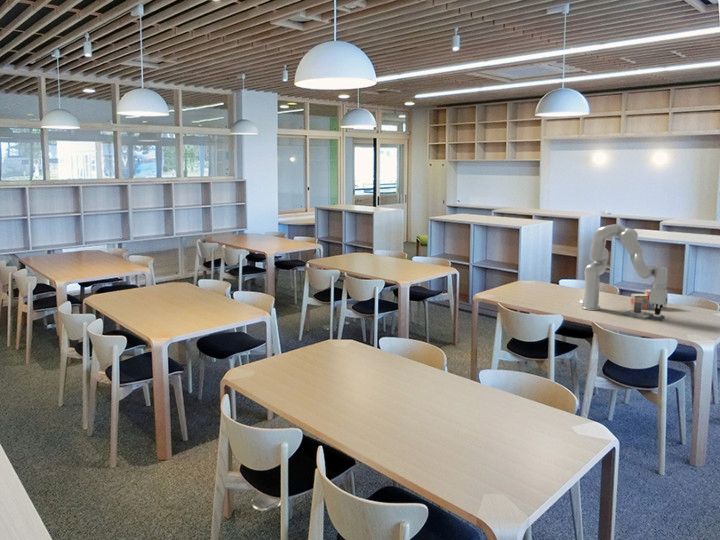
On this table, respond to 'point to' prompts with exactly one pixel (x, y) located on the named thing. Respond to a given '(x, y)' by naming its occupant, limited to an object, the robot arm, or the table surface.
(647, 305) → the stack of blocks
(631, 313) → the picture board
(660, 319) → the button housing
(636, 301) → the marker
